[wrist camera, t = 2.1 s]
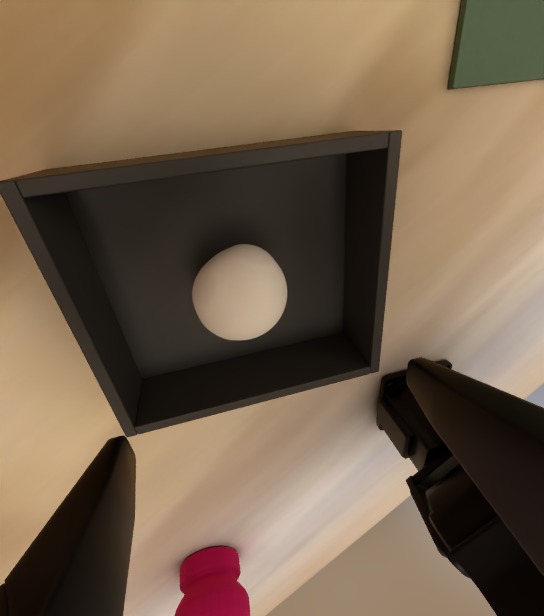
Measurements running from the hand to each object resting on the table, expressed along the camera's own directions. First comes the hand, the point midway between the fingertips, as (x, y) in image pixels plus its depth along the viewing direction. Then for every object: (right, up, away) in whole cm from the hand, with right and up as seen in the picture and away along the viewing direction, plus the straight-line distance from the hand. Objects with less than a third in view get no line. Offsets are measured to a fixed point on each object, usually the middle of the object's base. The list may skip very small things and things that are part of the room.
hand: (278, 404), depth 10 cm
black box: (-3, +5, +9) cm, 11 cm away
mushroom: (-3, +5, +9) cm, 11 cm away
